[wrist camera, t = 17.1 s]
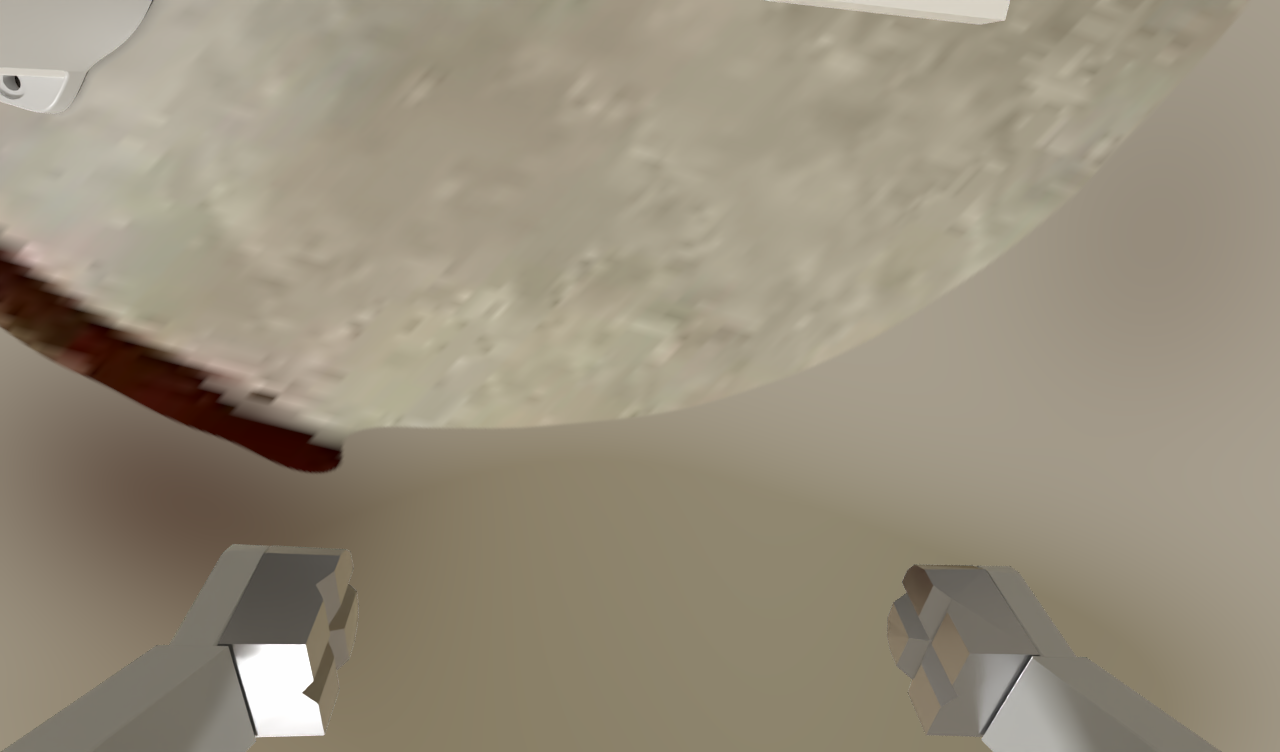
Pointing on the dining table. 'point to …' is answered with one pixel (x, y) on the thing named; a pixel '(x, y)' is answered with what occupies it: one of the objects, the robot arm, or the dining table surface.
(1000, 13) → the tray
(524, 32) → the dining table surface
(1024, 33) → the dining table surface
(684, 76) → the dining table surface
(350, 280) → the dining table surface
